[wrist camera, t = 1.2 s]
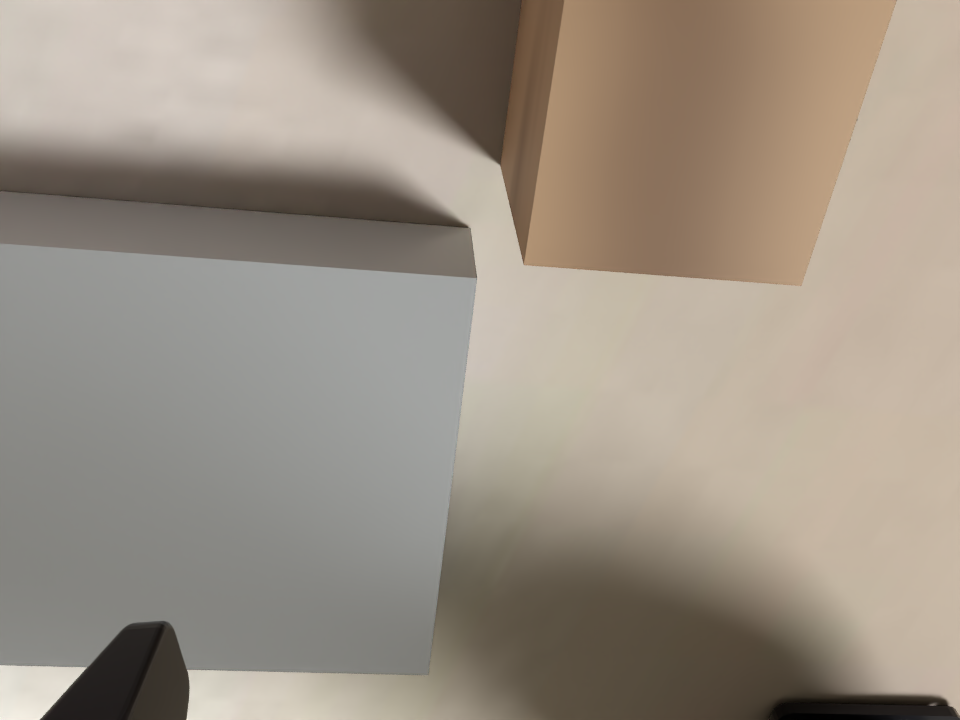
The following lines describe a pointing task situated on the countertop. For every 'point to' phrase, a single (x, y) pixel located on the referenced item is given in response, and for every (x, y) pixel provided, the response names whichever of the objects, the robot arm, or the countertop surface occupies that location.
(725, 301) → the countertop surface
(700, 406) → the countertop surface
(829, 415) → the countertop surface
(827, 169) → the walnut cube
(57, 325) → the slate tile
